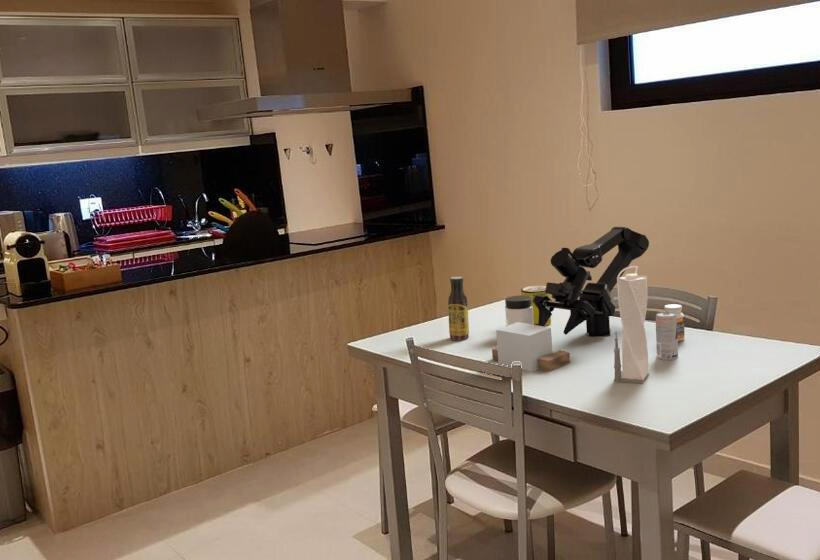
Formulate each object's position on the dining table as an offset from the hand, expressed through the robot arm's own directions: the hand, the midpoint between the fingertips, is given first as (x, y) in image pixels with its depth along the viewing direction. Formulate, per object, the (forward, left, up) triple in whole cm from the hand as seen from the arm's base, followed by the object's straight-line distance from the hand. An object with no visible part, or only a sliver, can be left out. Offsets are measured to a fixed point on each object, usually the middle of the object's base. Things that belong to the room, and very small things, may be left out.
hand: (551, 331), depth 216 cm
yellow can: (+7, -31, -6) cm, 33 cm away
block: (+7, +10, -6) cm, 14 cm away
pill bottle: (-34, -10, -6) cm, 36 cm away
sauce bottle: (+30, -16, -6) cm, 35 cm away
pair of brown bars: (+6, +8, -6) cm, 11 cm away
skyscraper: (-22, +23, -6) cm, 32 cm away
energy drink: (-31, +7, -6) cm, 32 cm away
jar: (+11, -18, -6) cm, 22 cm away
